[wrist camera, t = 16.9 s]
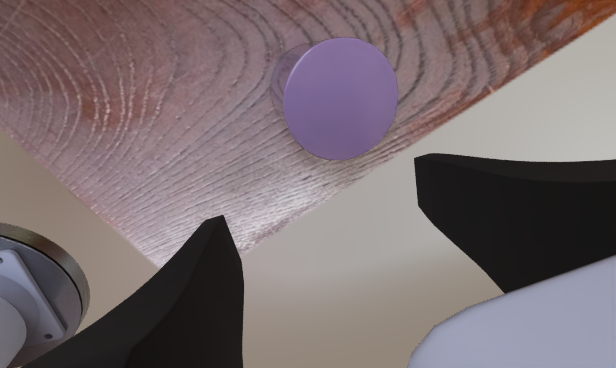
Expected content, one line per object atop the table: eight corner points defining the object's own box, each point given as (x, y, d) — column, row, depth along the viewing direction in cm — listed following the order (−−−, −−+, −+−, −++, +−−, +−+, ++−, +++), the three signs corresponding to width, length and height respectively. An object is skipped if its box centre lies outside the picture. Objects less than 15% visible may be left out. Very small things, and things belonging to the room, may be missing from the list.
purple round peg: (278, 139, 20) (293, 171, 14) (262, 49, 18) (272, 47, 12) (357, 124, 20) (400, 149, 15) (350, 36, 18) (398, 28, 13)
